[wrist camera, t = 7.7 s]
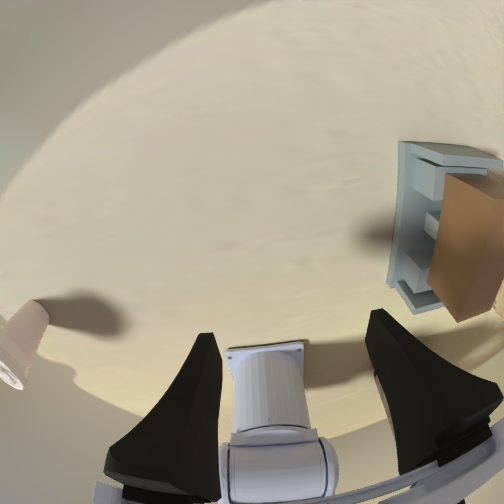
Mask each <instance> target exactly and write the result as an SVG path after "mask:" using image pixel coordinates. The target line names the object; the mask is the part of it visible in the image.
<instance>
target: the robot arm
mask: <svg viewBox="0 0 504 504" xmlns="http://www.w3.org/2000/svg"><path fill="white" fill-rule="evenodd" d="M365 343H366V346H367V350H368V353H369V357H370V360H371V362H372V365H373V367H374V370H375V372H376V374H377V377H378V379H379V382H380V384H381V386H382V389H383V391H384V394H385V397H386V400H387V403H388V406H389V410H390V414H391V419H392V423H393V428H394V434H395V440H396V447H397V457H398V471H399V474H400V476H398V477H395V478H393V479H390V480H387V481H384V482H381V483H378V484H375V485H371V486H368V487H364V488H361V489H357V490H353V491H350V492H345V493H341V494H337V495H335V489H336V487H337V484H338V479H339V465H338V459H337V454H336V451H335V449H334V446H333V445H332V443H330V442H329V441H328V440H327V439H326V438H325V437H318V434H317V429H316V428H314V429H311V425H310V419H309V413H308V407H307V402H306V396H305V390H304V385H303V379H304V344H303V342H301V341H298V342H291V343H284V344H276V345H268V346H258V347H249V348H238V349H227V350H225V351H224V356H225V359H226V362H227V365H228V368H229V371H230V374H231V377H232V380H233V382H234V383H233V433H231V434H230V443H226V442H224V443H222V445H221V446H220V447H218V418H219V408H220V399H221V390H222V380H223V378H222V358H221V355H220V352H219V349H218V346H217V343H216V340H215V337H214V334H213V332H212V333H200V334H199V335H198V337H197V339H196V341H195V343H194V345H193V347H192V349H191V351H190V353H189V355H188V357H187V359H186V360H185V362H184V364H183V366H182V367H181V369H180V371H179V373H178V374H177V376H176V377H175V379H174V381H173V382H172V384H171V385H170V387H169V388H168V390H167V391H166V392H165V394H164V395H163V396H162V398H161V399H160V400H159V402H158V403H157V404H156V405H155V406H154V408H153V409H152V410H151V411H150V412H149V413H148V414H147V415H146V417H145V418H144V419H143V420H142V421H141V422H140V423H138V424H137V425H136V426H135V427H134V428H133V429H132V430H131V431H130V432H129V433H128V434H126V435H125V436H124V437H123V438H121V439H120V440H119V441H117V442H116V443H115V444H113V445H112V446H111V447H109V450H108V453H107V457H106V462H105V467H104V471H103V472H104V474H105V475H106V476H108V477H110V478H112V479H114V480H116V481H118V482H120V483H122V484H124V487H123V489H121V488H118V487H115V486H111V485H108V484H105V483H101V482H98V481H96V482H95V485H94V491H93V496H92V502H91V504H204V503H211V502H217V501H218V503H219V504H356V503H360V502H364V501H366V500H370V499H374V498H377V497H380V496H383V495H386V494H388V493H392V492H394V491H397V490H400V489H402V488H405V487H407V486H410V485H412V484H413V485H412V486H411V487H410V490H408V491H405V492H403V493H400V494H397V495H395V496H392V497H390V498H388V499H386V500H383V501H380V502H379V503H378V504H457V503H458V502H460V501H461V500H463V499H464V498H466V497H467V496H468V495H470V494H471V493H473V492H474V491H475V490H477V489H478V488H479V487H481V486H482V485H483V484H485V483H486V482H487V481H488V480H490V479H491V478H492V477H493V476H495V475H496V474H497V473H498V472H499V471H501V470H502V469H503V468H504V418H502V419H501V420H500V421H498V422H497V423H495V424H494V425H493V426H491V427H489V425H488V423H490V418H489V415H490V414H491V413H492V412H493V411H494V410H495V409H496V408H497V407H498V406H499V405H500V404H501V402H502V401H503V398H504V396H503V395H502V392H501V390H500V389H499V387H498V385H497V383H494V382H491V381H488V380H485V379H482V378H479V377H477V376H475V375H472V374H470V373H468V372H466V371H464V370H462V369H460V368H458V367H456V366H455V365H453V364H451V363H449V362H448V361H446V360H445V359H443V358H442V357H440V356H439V355H437V354H436V353H434V352H433V351H431V350H430V349H429V348H428V347H426V346H425V345H424V344H422V343H421V342H420V341H419V340H418V339H416V338H415V337H414V336H413V335H412V334H411V333H409V332H408V331H407V330H406V329H405V328H404V327H403V326H402V325H401V324H399V323H398V322H397V321H396V320H395V319H394V318H393V317H392V316H391V315H390V314H389V313H388V312H386V311H385V310H384V309H383V308H382V309H377V310H372V311H371V314H370V319H369V324H368V328H367V333H366V337H365ZM230 356H231V357H230Z"/></svg>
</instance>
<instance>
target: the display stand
mask: <svg viewBox="0 0 504 504" xmlns="http://www.w3.org/2000/svg"><path fill="white" fill-rule="evenodd" d="M486 168H492V169H503V160H501V159H498V158H496V157H494V156H491V155H489V154H486V153H483V152H481V151H478V150H476V149H475V148H472V147H469V146H461V145H452V144H441V143H428V142H411V141H399V161H398V188H397V203H396V215H395V225H394V234H393V242H392V249H391V256H390V263H389V269H388V275H387V281H386V282H387V284H388V285H389V287H390V288H396V289H397V291H398V292H399V294H400V295H401V297H402V298H403V300H404V301H405V303H406V304H407V306H408V307H409V309H410V310H411V312H412V314H413V315H416V314H420V313H423V312H427V311H431V310H434V309H438V308H441V307H444V306H445V305H444V304H443V303H442V301H441V300H440V299H439V298H438V296H437V295H436V294H435V292H434V291H433V290H432V289H431V287H430V286H429V285H428V284H427V278H428V274H429V270H430V266H431V262H432V257H433V253H434V248H435V243H436V238H437V233H438V227H439V221H440V215H441V208H442V200H443V192H444V182H445V173H469V174H481V175H483V176H485V177H487V170H488V169H486Z"/></svg>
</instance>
